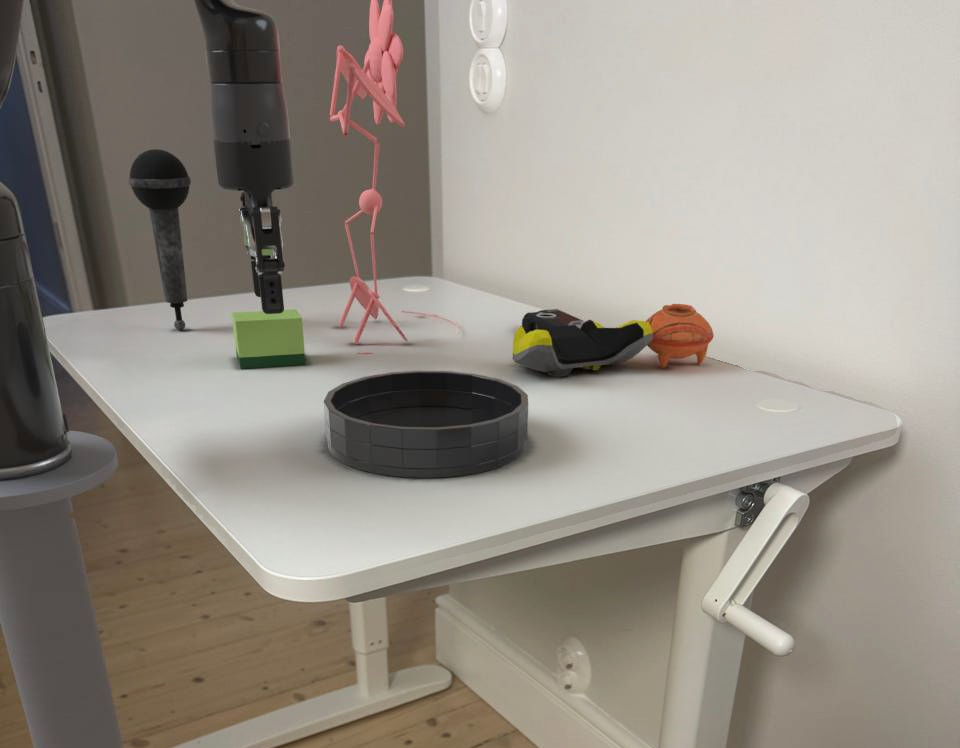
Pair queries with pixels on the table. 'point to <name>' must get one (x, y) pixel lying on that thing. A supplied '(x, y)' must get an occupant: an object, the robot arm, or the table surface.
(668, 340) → the pot
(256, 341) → the sponge
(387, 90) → the figurine
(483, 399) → the pan
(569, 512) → the table surface
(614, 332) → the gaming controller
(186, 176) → the microphone
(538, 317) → the camera
